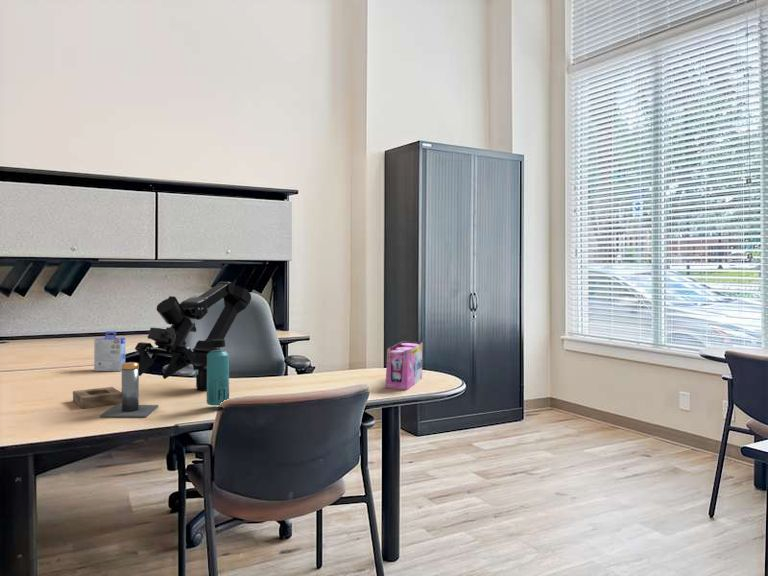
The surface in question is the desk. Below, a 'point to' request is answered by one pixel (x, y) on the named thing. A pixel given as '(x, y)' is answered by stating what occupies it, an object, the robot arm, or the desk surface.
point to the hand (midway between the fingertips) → (151, 376)
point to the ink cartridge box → (109, 352)
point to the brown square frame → (97, 397)
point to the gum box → (404, 365)
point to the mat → (118, 413)
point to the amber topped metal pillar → (130, 386)
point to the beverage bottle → (217, 374)
